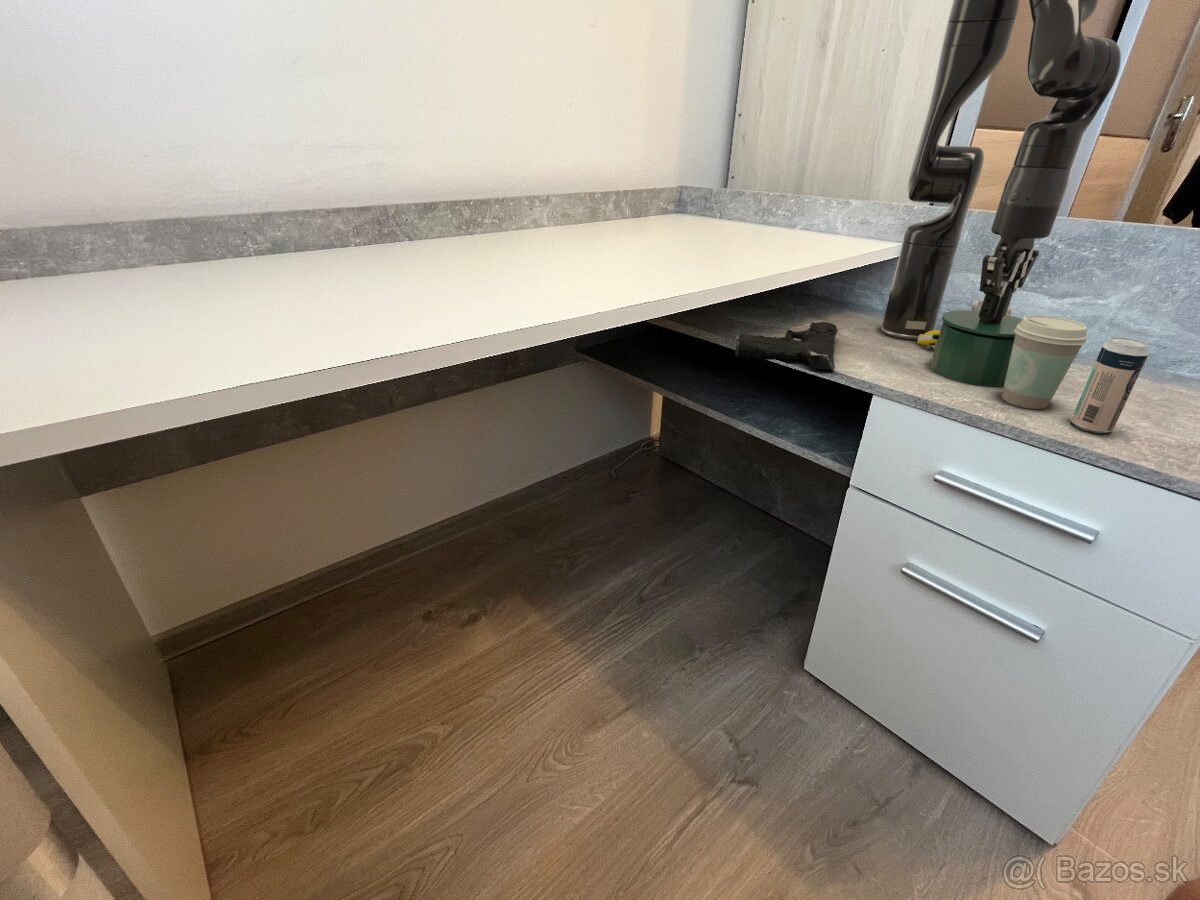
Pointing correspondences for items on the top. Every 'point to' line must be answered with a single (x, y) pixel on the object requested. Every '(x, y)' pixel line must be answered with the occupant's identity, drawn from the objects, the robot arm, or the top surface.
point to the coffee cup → (1041, 359)
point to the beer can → (1110, 384)
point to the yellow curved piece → (929, 338)
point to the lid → (974, 324)
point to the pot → (972, 356)
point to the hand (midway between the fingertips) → (991, 317)
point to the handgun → (792, 346)
